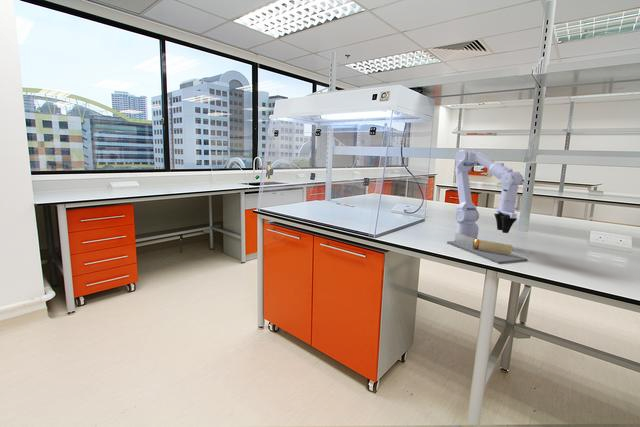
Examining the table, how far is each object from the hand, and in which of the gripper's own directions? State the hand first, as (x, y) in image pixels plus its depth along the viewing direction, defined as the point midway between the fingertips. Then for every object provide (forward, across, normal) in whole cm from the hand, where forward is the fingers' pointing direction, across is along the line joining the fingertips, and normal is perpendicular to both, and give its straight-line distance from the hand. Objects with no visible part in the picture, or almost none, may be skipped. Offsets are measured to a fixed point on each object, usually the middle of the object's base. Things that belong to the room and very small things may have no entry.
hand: (502, 231), depth 137 cm
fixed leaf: (+9, -4, -14) cm, 17 cm away
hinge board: (+9, +1, -6) cm, 11 cm away
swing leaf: (+8, +4, -5) cm, 10 cm away
